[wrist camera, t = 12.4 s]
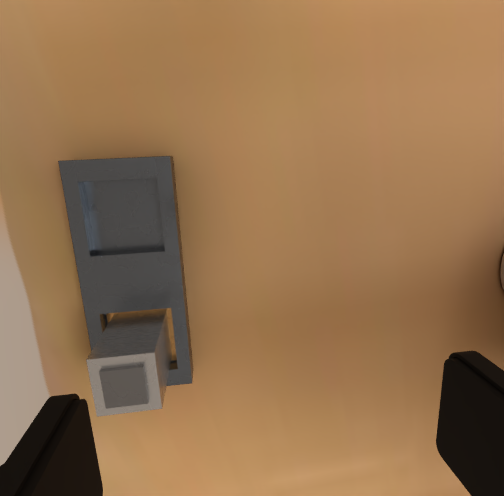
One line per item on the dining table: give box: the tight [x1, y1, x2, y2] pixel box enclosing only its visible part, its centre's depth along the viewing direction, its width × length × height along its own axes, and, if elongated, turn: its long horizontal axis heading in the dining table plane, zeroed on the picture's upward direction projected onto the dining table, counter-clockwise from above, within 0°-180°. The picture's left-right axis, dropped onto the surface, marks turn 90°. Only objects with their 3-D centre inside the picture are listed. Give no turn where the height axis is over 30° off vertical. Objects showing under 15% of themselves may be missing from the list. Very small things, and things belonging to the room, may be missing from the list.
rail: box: [58, 156, 193, 386], centre depth 33 cm, size 9×22×2 cm, turn 2°
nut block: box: [86, 310, 172, 416], centre depth 31 cm, size 5×5×8 cm
